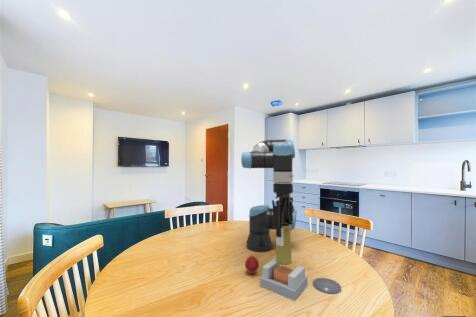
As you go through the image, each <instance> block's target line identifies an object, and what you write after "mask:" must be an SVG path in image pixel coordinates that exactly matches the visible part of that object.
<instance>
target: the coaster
mask: <svg viewBox="0 0 476 317" xmlns="http://www.w3.org/2000/svg"><path fill="white" fill-rule="evenodd" d="M312 286H313V288H315V289H316V290H317V291H319V292H321V293H324V294H328V295H336V294H339V293H341V291H342V286H341V285H340V283H338V282H337V281H336V280H334V279H331V278H326V277H318V278H314V279H313V281H312Z"/></svg>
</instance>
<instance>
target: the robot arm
mask: <svg viewBox="0 0 476 317" xmlns="http://www.w3.org/2000/svg"><path fill="white" fill-rule="evenodd" d="M252 148H253V149H252V150H251V151H245V152H242V154H241V158H240V160H241V166H242V168H243V169H249V170H250V169H273V170H272V172H273V174H272V177H273V178H272V179H273V180H272V181H273V184H272V185H273V187H272V188H273V189H272V190H273V193H274V194H275V199H273V200H271V204H272V208H270V205H265V204H262V205H254V206H252V207H250V208H249V214H248V217H249V218H248V219H249V228H248V229H249V232H248V233H249V234H248V236H247V240H246V248H247V249H248V250H250V251H253V252H259V253H260V252H269V251H271V250H272V249H273V248H274V247H273V246H274V245H273V241H272V238H271V234H270V230H274V231H275V244H276V245H280V246H284V237H283V228H282V224H283V223H287V224H290V228H291V231H294V230H295V228H296V225H297V224H296V223H297V209H296V208H295V205H294V204H293V202H294V197H292V194H293V193H294V185H293V177H294V174H293V161H294V160H293V159H295V158H296V150H295V145H294V142H293V140H292V139H266V140H262V141H259V142H258V143H256V144H255V145H254V146H253V147H252ZM276 245H275V246H276Z"/></svg>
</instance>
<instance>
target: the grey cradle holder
mask: <svg viewBox="0 0 476 317" xmlns="http://www.w3.org/2000/svg"><path fill="white" fill-rule="evenodd" d="M279 266H280V264H278V263H277V262H276V257H275V258H273V259H272V260H270V261H269V262H268V263H266V264H265V265H263V266H262V276H261V277H260V278H259V286H260V288H263V289H266V290H268V291H271V292H273V293H276V294H277V295H281V296H283V297H286V298H288V299H290V300H292V301H296V300H297V299H298V298H299V296H300V295H301V294H302V293H303V291H304V290H305V289H306V288H307V287H308V277H307V276H306V267H304V266H302V265H297V266H296V267H295V268H293V269H294V270H293V271H292V272H291V273H290V274H289V275H288V285H287V284H284V283H281V282H279V281H276V280H274V270H275V269H276V268H277V267H279Z"/></svg>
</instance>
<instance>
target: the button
mask: <svg viewBox="0 0 476 317" xmlns="http://www.w3.org/2000/svg"><path fill="white" fill-rule="evenodd" d="M294 269H295V268H291V267H287V266H286V265H280V266H279V267H277V268H276V269H275V270H274V280H276V281H277V282H280V283H283V284H285V285H288V275H289V274H290V273H291V272H292V271H293V270H294Z"/></svg>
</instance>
